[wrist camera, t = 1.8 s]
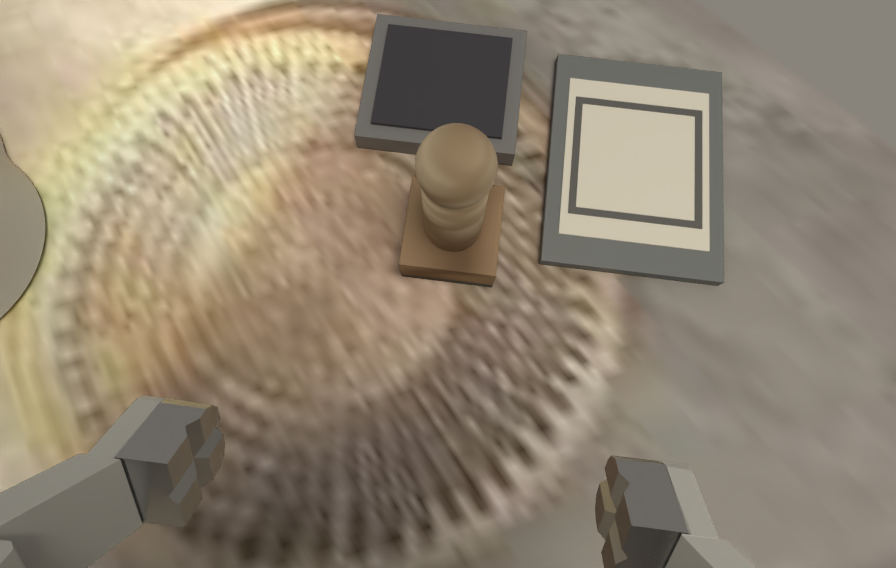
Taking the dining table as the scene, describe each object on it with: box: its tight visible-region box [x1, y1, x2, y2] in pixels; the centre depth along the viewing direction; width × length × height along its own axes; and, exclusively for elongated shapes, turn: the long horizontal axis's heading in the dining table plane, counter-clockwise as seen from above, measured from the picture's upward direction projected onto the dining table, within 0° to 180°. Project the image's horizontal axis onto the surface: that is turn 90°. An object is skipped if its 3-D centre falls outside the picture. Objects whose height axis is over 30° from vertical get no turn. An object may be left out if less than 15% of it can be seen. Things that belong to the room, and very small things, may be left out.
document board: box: [539, 54, 724, 286], centre depth 36 cm, size 12×16×1 cm
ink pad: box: [354, 14, 527, 166], centre depth 37 cm, size 11×10×2 cm
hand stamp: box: [399, 123, 505, 287], centre depth 29 cm, size 6×6×13 cm
